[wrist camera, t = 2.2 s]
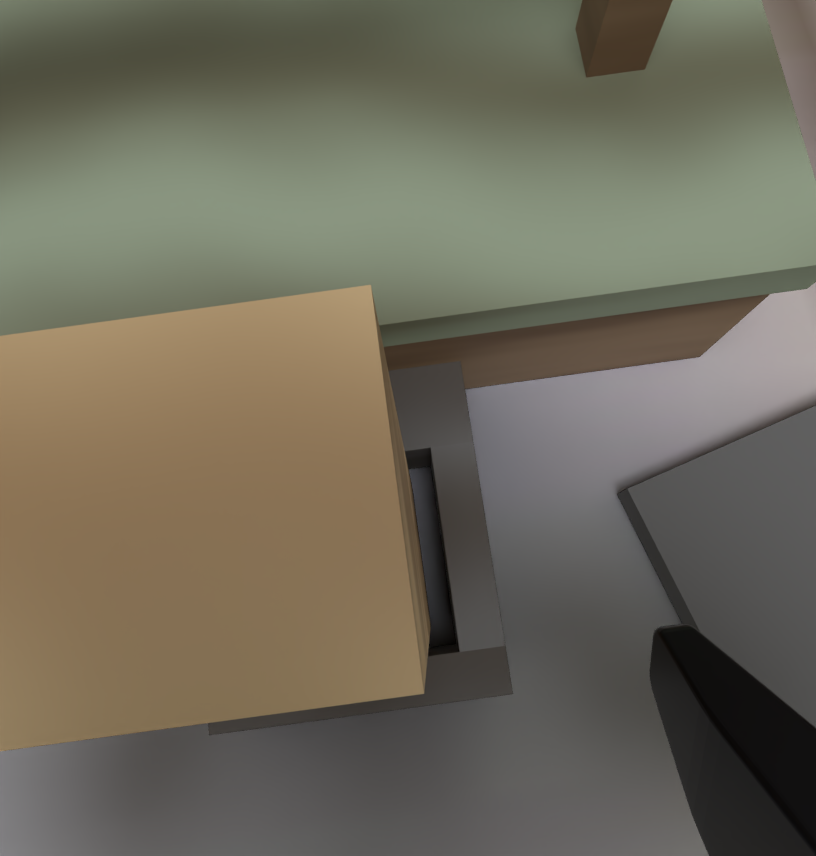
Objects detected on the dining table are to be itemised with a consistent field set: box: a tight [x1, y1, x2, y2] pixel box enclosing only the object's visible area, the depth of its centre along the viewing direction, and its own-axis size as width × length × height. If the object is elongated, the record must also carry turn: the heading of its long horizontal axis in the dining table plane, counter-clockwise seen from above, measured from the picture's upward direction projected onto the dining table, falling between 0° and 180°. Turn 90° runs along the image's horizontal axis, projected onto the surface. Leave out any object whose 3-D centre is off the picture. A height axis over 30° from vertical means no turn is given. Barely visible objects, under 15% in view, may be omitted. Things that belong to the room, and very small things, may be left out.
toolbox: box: [0, 0, 816, 735], centre depth 14 cm, size 18×21×13 cm
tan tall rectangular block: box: [0, 285, 431, 751], centre depth 12 cm, size 3×3×13 cm
